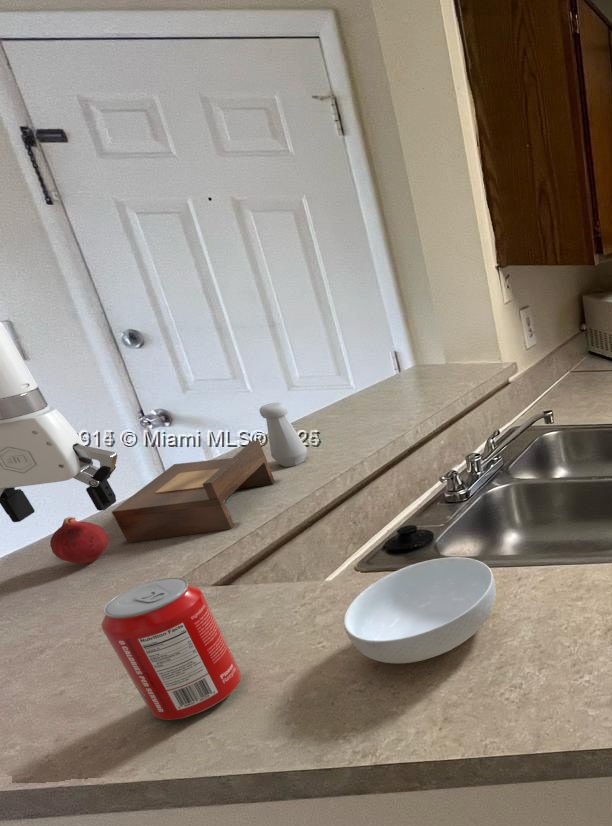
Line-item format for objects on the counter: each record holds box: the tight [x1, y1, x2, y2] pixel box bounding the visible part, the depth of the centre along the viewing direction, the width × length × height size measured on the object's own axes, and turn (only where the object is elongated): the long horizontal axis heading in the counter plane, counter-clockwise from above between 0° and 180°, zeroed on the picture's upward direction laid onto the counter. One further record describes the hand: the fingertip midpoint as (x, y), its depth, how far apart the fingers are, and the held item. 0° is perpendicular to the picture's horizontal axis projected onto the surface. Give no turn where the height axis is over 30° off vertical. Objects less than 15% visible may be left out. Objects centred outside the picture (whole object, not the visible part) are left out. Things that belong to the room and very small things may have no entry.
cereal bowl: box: [343, 556, 497, 664], centre depth 80 cm, size 17×17×7 cm
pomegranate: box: [49, 516, 110, 564], centre depth 94 cm, size 6×6×8 cm
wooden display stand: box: [111, 440, 276, 544], centre depth 109 cm, size 14×18×9 cm
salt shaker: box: [259, 402, 308, 468], centre depth 125 cm, size 6×6×13 cm
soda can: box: [101, 577, 242, 721], centre depth 69 cm, size 8×8×15 cm
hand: (66, 511), depth 92 cm, fingers open, 9 cm apart
